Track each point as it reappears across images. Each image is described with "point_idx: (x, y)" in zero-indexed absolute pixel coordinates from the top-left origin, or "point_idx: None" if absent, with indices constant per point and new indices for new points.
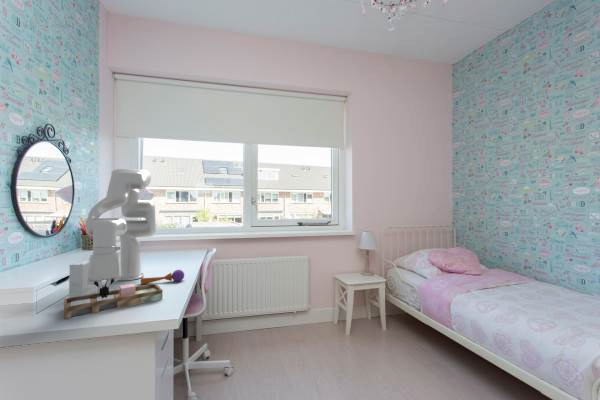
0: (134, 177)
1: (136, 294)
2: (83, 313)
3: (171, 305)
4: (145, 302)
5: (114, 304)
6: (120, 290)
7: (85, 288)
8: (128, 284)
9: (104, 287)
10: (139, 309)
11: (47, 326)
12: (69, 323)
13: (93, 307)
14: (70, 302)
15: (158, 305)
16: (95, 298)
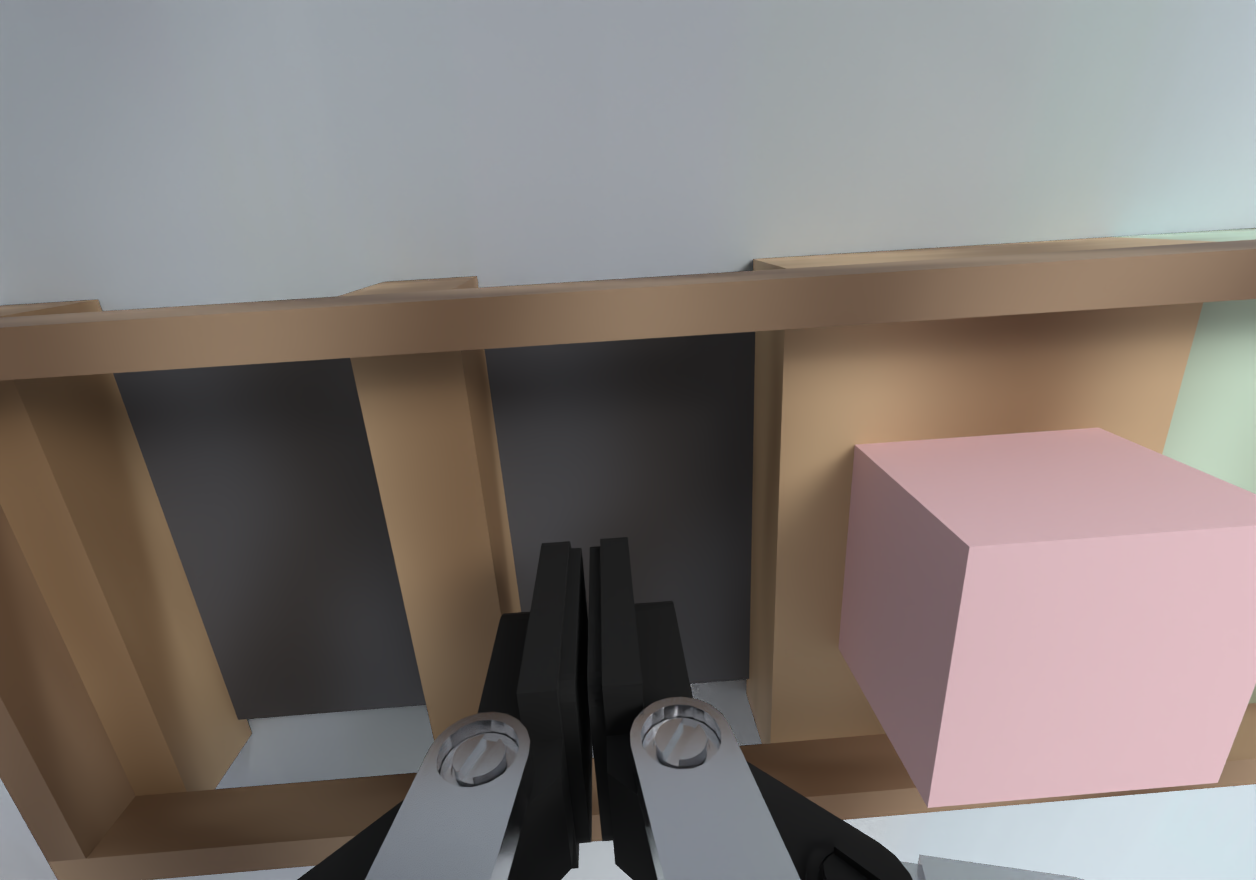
0: None
1: (1064, 796)
2: (367, 701)
3: (1223, 874)
4: None
5: (728, 564)
6: (904, 654)
7: None
8: (1184, 551)
9: (598, 794)
10: (935, 833)
11: None
12: (288, 868)
13: None
14: (11, 401)
15: (1133, 817)
16: (443, 396)
